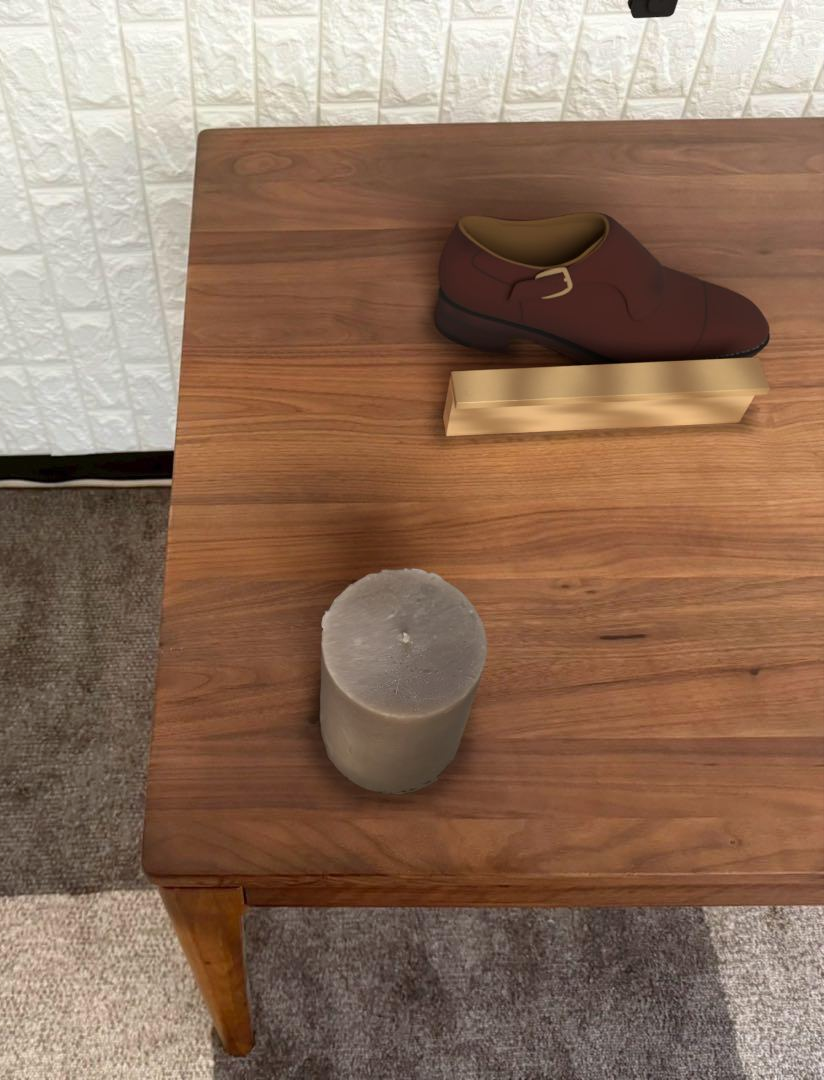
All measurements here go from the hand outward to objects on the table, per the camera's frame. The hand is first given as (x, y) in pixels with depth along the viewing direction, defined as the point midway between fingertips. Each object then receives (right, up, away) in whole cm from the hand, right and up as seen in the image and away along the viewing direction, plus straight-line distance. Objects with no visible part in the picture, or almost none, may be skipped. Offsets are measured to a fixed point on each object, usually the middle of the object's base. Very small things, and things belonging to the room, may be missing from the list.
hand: (649, 10), depth 77 cm
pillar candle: (-21, -53, -7) cm, 57 cm away
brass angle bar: (-3, -30, +6) cm, 31 cm away
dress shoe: (-1, -23, +11) cm, 25 cm away
